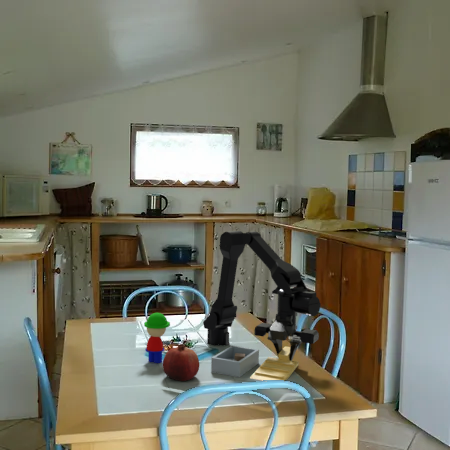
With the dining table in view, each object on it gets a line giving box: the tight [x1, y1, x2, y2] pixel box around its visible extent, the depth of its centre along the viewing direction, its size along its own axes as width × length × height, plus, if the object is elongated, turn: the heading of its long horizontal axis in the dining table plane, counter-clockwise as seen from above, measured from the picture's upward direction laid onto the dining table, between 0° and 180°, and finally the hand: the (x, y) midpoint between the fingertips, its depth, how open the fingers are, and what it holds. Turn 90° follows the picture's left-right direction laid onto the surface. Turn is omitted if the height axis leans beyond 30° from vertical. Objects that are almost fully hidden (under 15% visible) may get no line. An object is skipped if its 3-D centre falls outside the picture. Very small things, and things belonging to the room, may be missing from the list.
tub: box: [210, 345, 260, 378], centre depth 171 cm, size 14×9×5 cm, turn 154°
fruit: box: [162, 343, 200, 382], centre depth 161 cm, size 11×10×10 cm
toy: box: [143, 312, 171, 364], centre depth 177 cm, size 8×8×15 cm
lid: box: [249, 345, 300, 382], centre depth 169 cm, size 20×10×2 cm, turn 154°
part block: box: [235, 353, 245, 361], centre depth 173 cm, size 3×3×3 cm
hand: (285, 360), depth 174 cm, fingers closed on lid, 3 cm apart
